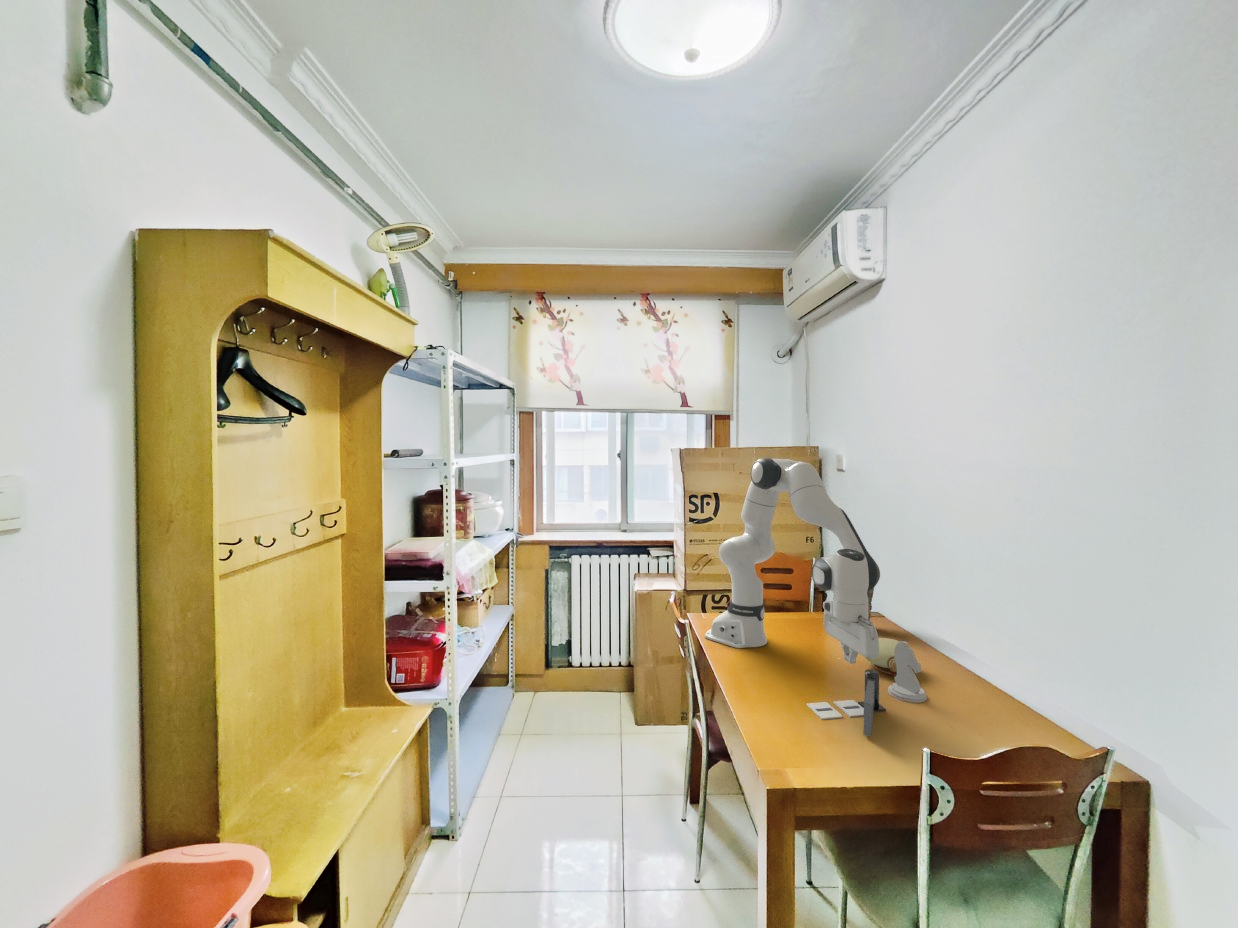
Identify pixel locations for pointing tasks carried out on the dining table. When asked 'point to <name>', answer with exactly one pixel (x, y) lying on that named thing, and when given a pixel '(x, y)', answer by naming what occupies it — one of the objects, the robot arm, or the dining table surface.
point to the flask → (885, 656)
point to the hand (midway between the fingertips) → (849, 661)
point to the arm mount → (874, 708)
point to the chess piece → (906, 675)
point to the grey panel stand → (870, 699)
